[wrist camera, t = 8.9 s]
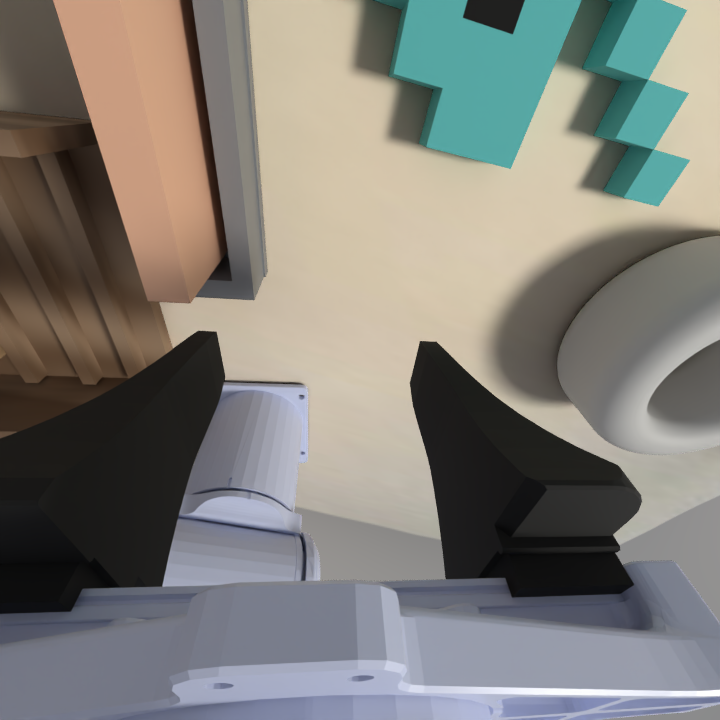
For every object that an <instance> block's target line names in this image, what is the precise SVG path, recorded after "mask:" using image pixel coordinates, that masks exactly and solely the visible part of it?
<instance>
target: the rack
mask: <svg viewBox="0 0 720 720" xmlns="http://www.w3.org/2000/svg"><path fill="white" fill-rule="evenodd" d="M0 345H1V346H2V348H3V350H4V351H5V353H6V355H4V356H3V357H2V358H1V359H0V438H3V437H5V436H8V435H11V434H14V433H16V432H19V431H21V430H24V429H27V428H29V427H32V426H34V425H37V424H39V423H42V422H44V421H46V420H49V419H51V418H54V417H56V416H58V415H60V414H62V413H64V412H67V411H69V410H71V409H73V408H75V407H77V406H79V405H82V404H84V403H86V402H88V401H90V400H92V399H94V398H96V397H98V396H100V395H101V394H103V393H105V392H107V391H109V390H111V389H113V388H114V387H116V386H118V385H120V384H121V383H123V382H125V381H126V380H128V379H129V378H131V377H132V376H134V375H136V374H137V373H139V372H140V371H142V370H143V369H145V368H146V367H148V366H149V365H151V364H152V363H154V362H155V361H157V360H158V359H160V358H161V357H162V356H164V355H165V354H167V353H168V352H169V351H171V350H172V349H173V348H172V345H171V341H170V338H169V335H168V331H167V328H166V324H165V321H164V318H163V314H162V311H161V307H160V304H159V302H155V301H148V300H147V297H146V294H145V290H144V287H143V284H142V281H141V278H140V275H139V271H138V268H137V265H136V262H135V259H134V255H133V252H132V249H131V246H130V243H129V240H128V236H127V233H126V230H125V227H124V224H123V221H122V217H121V214H120V211H119V208H118V205H117V202H116V198H115V195H114V192H113V189H112V186H111V182H110V179H109V176H108V173H107V170H106V167H105V163H104V160H103V157H102V154H101V151H100V148H99V144H98V141H97V138H96V135H95V132H94V129H93V125H92V122H91V120H84V119H75V118H65V117H55V116H45V115H36V114H26V113H16V112H6V111H0Z"/></svg>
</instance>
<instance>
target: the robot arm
mask: <svg viewBox="0 0 720 720" xmlns="http://www.w3.org/2000/svg"><path fill="white" fill-rule="evenodd" d="M224 381H225V373H224V368H223V362H222V357H221V352H220V347H219V342H218V337H217V332H211V331H197V332H196V333H194V334H193V335H191V336H190V337H188V338H187V339H186V340H184V341H183V342H182V343H180V344H179V345H178V346H176V347H175V348H173V349H172V350H171V351H169V352H168V353H167V354H165V355H164V356H162V357H161V358H160V359H158V360H157V361H155V362H154V363H152V364H151V365H149V366H148V367H146V368H145V369H143V370H142V371H140V372H139V373H137V374H136V375H134V376H132V377H131V378H129V379H128V380H126V381H125V382H123V383H121V384H120V385H118V386H116V387H114V388H113V389H111V390H109V391H107V392H105V393H103V394H101V395H100V396H98V397H96V398H94V399H92V400H90V401H88V402H86V403H84V404H82V405H79V406H77V407H75V408H73V409H71V410H69V411H67V412H64V413H62V414H60V415H58V416H56V417H54V418H51V419H49V420H46V421H44V422H42V423H39V424H37V425H34V426H32V427H29V428H27V429H24V430H21V431H19V432H16V433H14V434H11V435H8V436H5V437H3V438H0V720H601V719H611V718H621V717H632V716H643V715H655V714H668V713H680V712H689V711H693V710H697V709H701V708H706V707H710V706H714V705H718V704H720V622H719V621H718V619H717V618H716V617H715V615H714V614H713V612H712V611H711V610H710V608H709V607H708V606H707V604H706V603H705V602H704V600H703V599H702V597H701V596H700V595H699V593H698V592H697V590H696V589H695V588H694V587H693V585H692V584H691V582H690V581H689V579H688V578H687V577H686V575H685V574H684V573H683V571H682V570H681V568H680V567H679V566H678V564H677V563H676V562H674V561H672V560H666V561H665V560H663V561H662V560H661V561H635V562H629V563H626V564H623V565H622V564H621V562H620V560H619V559H618V557H617V555H616V554H615V552H618V551H619V550H620V546H619V544H618V543H617V541H616V539H615V538H614V536H613V534H614V533H615V532H616V531H617V530H619V529H620V528H621V527H622V526H623V525H624V524H626V523H627V522H628V521H629V520H630V519H631V518H632V517H633V516H634V515H635V514H636V513H637V512H638V510H639V508H640V505H641V502H642V499H641V495H640V493H639V492H638V491H637V489H636V488H635V487H634V486H633V484H632V483H631V482H630V480H629V479H628V478H627V476H626V475H625V474H624V472H623V471H622V470H621V468H620V467H619V466H618V465H616V464H614V463H612V462H609V461H607V460H605V459H603V458H600V457H598V456H596V455H594V454H591V453H589V452H587V451H585V450H583V449H580V448H578V447H576V446H574V445H572V444H571V443H569V442H567V441H565V440H563V439H561V438H559V437H557V436H555V435H553V434H552V433H550V432H548V431H546V430H545V429H543V428H541V427H540V426H538V425H536V424H535V423H533V422H531V421H530V420H528V419H527V418H525V417H523V416H522V415H520V414H519V413H517V412H516V411H515V410H513V409H512V408H510V407H509V406H508V405H506V404H505V403H503V402H502V401H501V400H499V399H498V398H497V397H495V396H494V395H493V394H492V393H491V392H489V391H488V390H487V389H486V388H485V387H483V386H482V385H481V384H480V383H479V382H478V381H477V380H475V379H474V378H473V377H472V376H471V375H470V374H469V373H468V372H467V371H466V370H465V369H464V368H463V367H462V366H461V365H459V364H458V363H457V362H456V361H455V360H454V359H453V358H452V357H451V356H450V355H449V354H448V353H447V352H446V351H445V350H444V349H443V348H442V347H441V346H440V345H439V344H438V343H437V342H427V341H420V344H419V348H418V352H417V356H416V360H415V365H414V369H413V373H412V377H411V381H410V387H411V395H412V402H413V407H414V411H415V415H416V418H417V422H418V425H419V429H420V432H421V436H422V439H423V443H424V446H425V450H426V453H427V457H428V461H429V465H430V469H431V475H432V481H433V486H434V492H435V499H436V505H437V512H438V518H439V526H440V533H441V541H442V549H443V558H444V567H445V577H446V579H444V580H443V579H441V580H402V581H365V580H324V581H323V580H320V559H319V553H318V550H317V548H316V545H315V544H314V541H313V539H312V537H311V535H310V534H308V533H304V532H301V521H302V515H301V514H297V513H294V508H295V498H296V488H297V478H298V468H299V463H305V462H307V461H308V388H307V387H306V386H305V385H296V384H262V383H228V382H224ZM300 395H304V396H300ZM198 451H199V452H198ZM197 453H198V454H197ZM196 456H197V457H196ZM194 461H195V462H194Z"/></svg>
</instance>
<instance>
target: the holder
mask: <svg viewBox="0 0 720 720" xmlns="http://www.w3.org/2000/svg"><path fill="white" fill-rule="evenodd" d="M192 3H193V10H194V17H195V24H196V31H197V38H198V45H199V52H200V59H201V66H202V73H203V80H204V87H205V94H206V101H207V108H208V115H209V122H210V129H211V136H212V143H213V150H214V157H215V164H216V171H217V178H218V185H219V192H220V199H221V206H222V213H223V220H224V227H225V234H226V241H227V248H228V251H227V253H226V254H225V256H224V257H223V258H222V260H221V261H220V263H219V264H218V265H217V267H216V268H215V270H214V271H213V272H212V274H211V275H210V277H209V278H208V279H207V281H206V282H205V284H204V285H203V286H202V288H201V289H200V291H199V292H198V293H197V295H196V296H195V297H205V298H224V299H242V300H255V297H256V295H257V292H258V290H259V287H260V285H261V282H262V280H263V277H266V274H267V272H268V271H267V258H266V245H265V231H264V218H263V205H262V191H261V178H260V164H259V151H258V138H257V124H256V111H255V98H254V84H253V71H252V58H251V44H250V31H249V18H248V4H247V0H192Z"/></svg>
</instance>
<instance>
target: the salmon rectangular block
mask: <svg viewBox="0 0 720 720" xmlns="http://www.w3.org/2000/svg"><path fill="white" fill-rule="evenodd" d="M53 2H54V5H55V8H56V11H57V14H58V17H59V21H60V24H61V27H62V30H63V33H64V36H65V40H66V43H67V46H68V49H69V52H70V56H71V59H72V62H73V65H74V68H75V71H76V75H77V78H78V81H79V84H80V87H81V90H82V94H83V97H84V100H85V103H86V106H87V109H88V113H89V116H90V119H91V122H92V125H93V129H94V132H95V135H96V138H97V141H98V144H99V148H100V151H101V154H102V157H103V160H104V163H105V167H106V170H107V173H108V176H109V179H110V182H111V186H112V189H113V192H114V195H115V198H116V202H117V205H118V208H119V211H120V214H121V217H122V221H123V224H124V227H125V230H126V233H127V236H128V240H129V243H130V246H131V249H132V252H133V255H134V259H135V262H136V265H137V268H138V271H139V275H140V278H141V281H142V284H143V287H144V290H145V294H146V297H147V300H148V301H155V302H174V303H191V302H192V300H193V299H194V298H195V296H196V295H197V293H198V292H199V291H200V289H201V288H202V286H203V285H204V284H205V282H206V281H207V279H208V278H209V277H210V275H211V274H212V272H213V271H214V270H215V268H216V267H217V265H218V264H219V263H220V261H221V260H222V258H223V257H224V256H225V254H226V253H227V251H228V248H227V241H226V234H225V227H224V220H223V213H222V206H221V199H220V192H219V185H218V178H217V171H216V164H215V157H214V150H213V143H212V136H211V129H210V122H209V115H208V108H207V101H206V94H205V87H204V80H203V73H202V66H201V59H200V52H199V45H198V38H197V31H196V24H195V17H194V10H193V3H192V0H53Z"/></svg>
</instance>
